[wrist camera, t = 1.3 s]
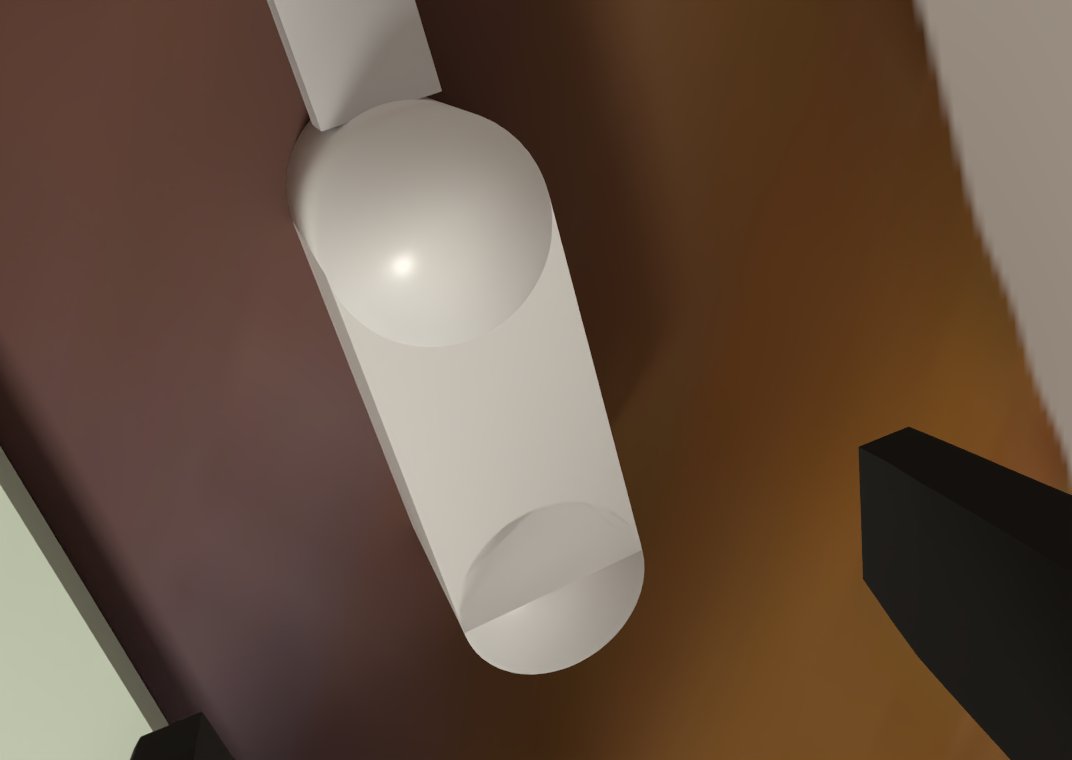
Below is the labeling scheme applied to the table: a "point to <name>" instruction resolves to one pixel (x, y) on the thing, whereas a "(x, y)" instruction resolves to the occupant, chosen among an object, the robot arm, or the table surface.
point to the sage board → (58, 650)
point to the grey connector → (460, 337)
